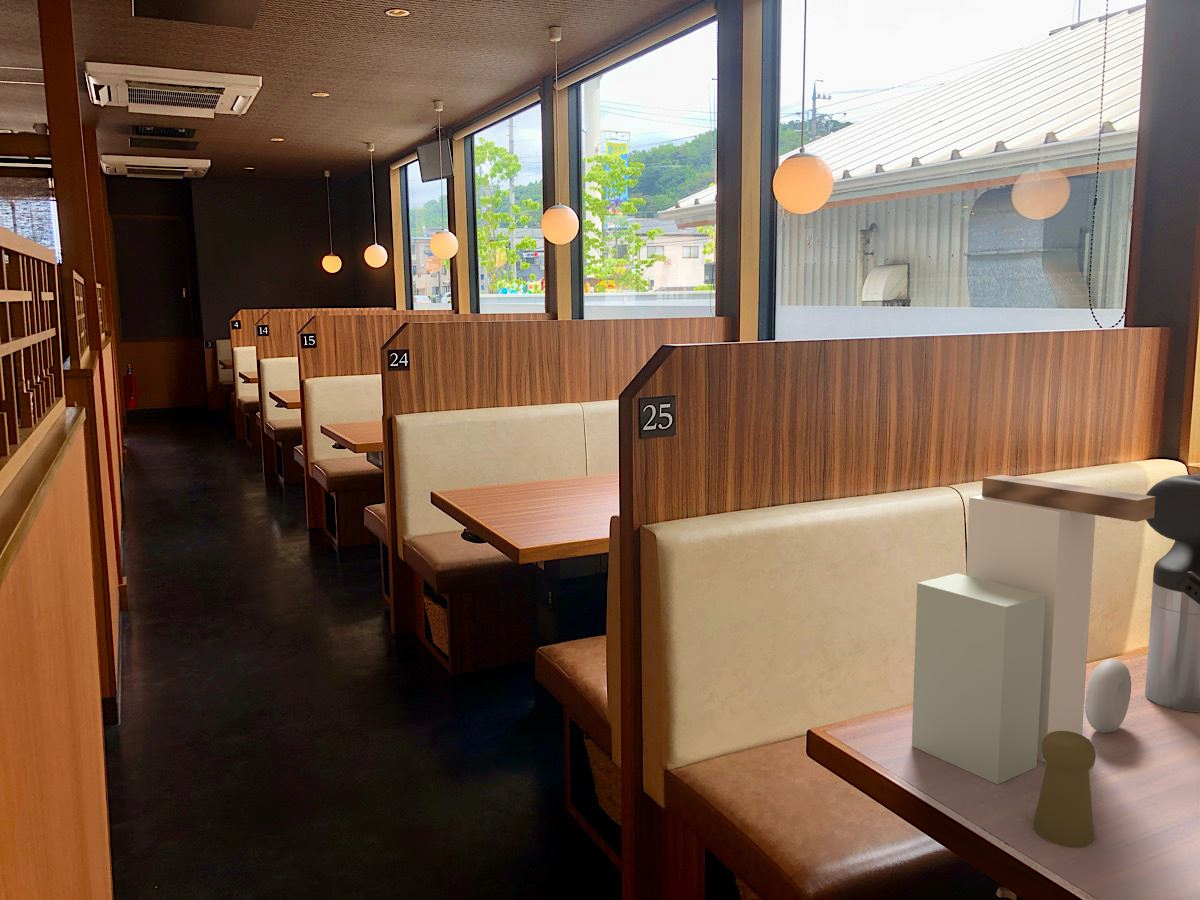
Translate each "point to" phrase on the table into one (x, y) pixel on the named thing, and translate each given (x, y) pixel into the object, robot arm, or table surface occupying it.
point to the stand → (1005, 640)
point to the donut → (1108, 695)
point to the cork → (1066, 790)
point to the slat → (1070, 497)
